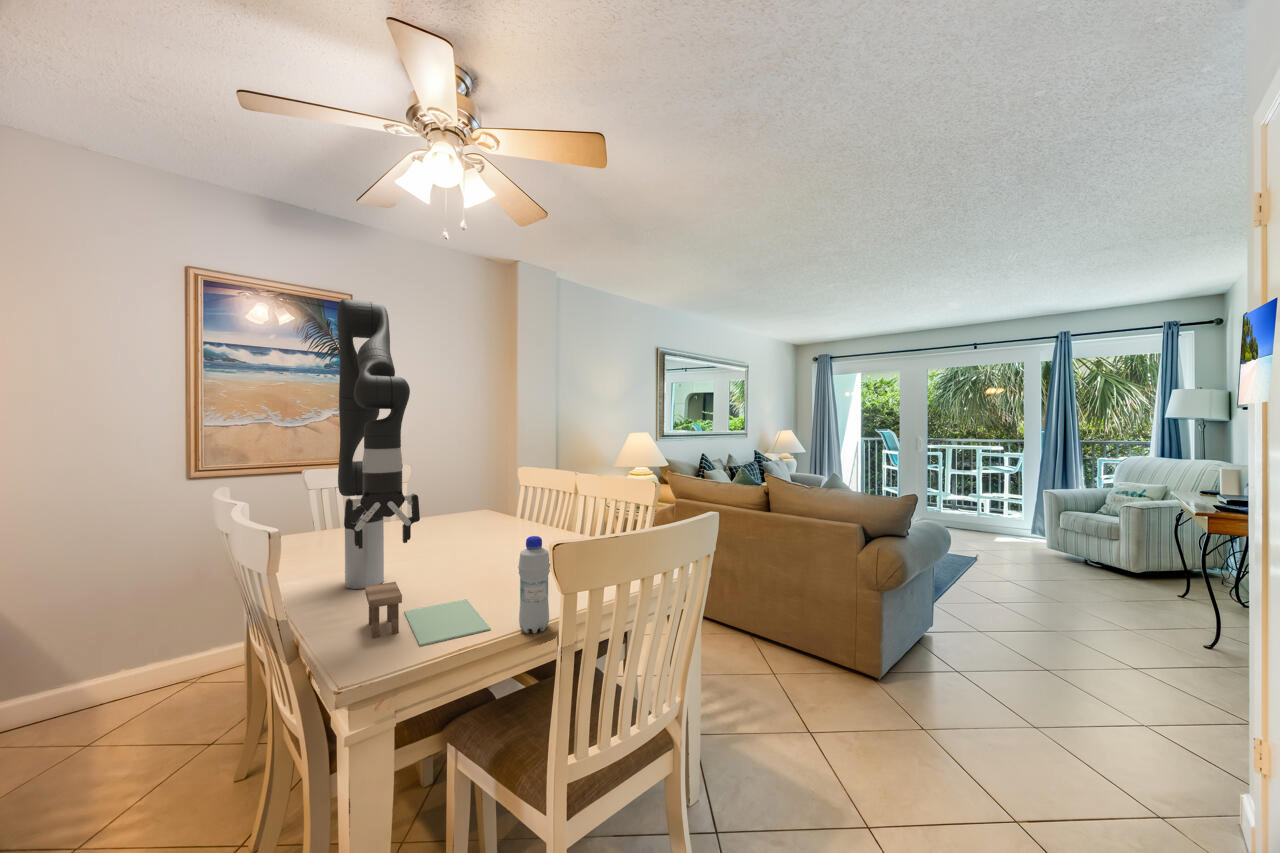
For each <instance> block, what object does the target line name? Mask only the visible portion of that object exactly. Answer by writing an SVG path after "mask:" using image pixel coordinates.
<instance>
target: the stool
mask: <svg viewBox="0 0 1280 853" xmlns="http://www.w3.org/2000/svg"><path fill="white" fill-rule="evenodd" d="M364 590H365V592H364V594H365V597H366V601H367V604H368V624H369V626H370V625H371V627H372V628H371V630H372V631H371V637H372V639H375V638H379V637H380V607H386V620H387V622H391V634H392V635H394V634H398V633H399V630H400V629H399V628H400V626H399V625H400V624H399V623H400V621H399V616H400V615H399V614H400V613H399V604H402V603H403V594H402V592H401V590H400V588H399V586H398V584H397V582H396V581H392V582H385V583H384V582H383V583H381V584H378V585H372V586H366V587H365V588H364Z"/></svg>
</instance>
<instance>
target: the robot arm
mask: <svg viewBox="0 0 1280 853" xmlns="http://www.w3.org/2000/svg"><path fill="white" fill-rule="evenodd" d="M336 314H337V315H336V319H337V334H338V336H337V337H338V338H337V339H338V350H339V354H338V355H339V382H338V383H339V387H338V388H339V390H338V391H339V392H338V412H339V416H338V417H339V453H338V456H339V457H338V470H337V471H338V472H337V473H338V474H337V487H338V492H339V494H340V495H341V496H343V497H348V498H347V499H346V500H344V502H345V503H344V515H343V516H344V520H343V526H344V587H345V588H347V589H352V590H358V589H365V587H366V586H372V585H378V584H383V583H384V581H385V575H384V574H385V571H384V568H385V558H384V557H385V552H384V551H385V549H384V548H385V547H384V546H385V545H384V541H385V538H384V536H385V535H384V534H385V533H384V531H385V529H384V528H385V527H384V518H385V517H386V518H391V517H392V516H395V515H396V517H398V518H399V520H400V521H401V522H402V523H403V524H402V543H403V544H407V543H408V541H410V540H411V536H412V535H411V528H412V524H414V523H417V522H418V523H419V521H420V520H421V516H420V504H419V503H420V500H419V499H420V498H419V496H418V495H417V494H416V493H412V494H409V495H404V493H403V466H404V465H403V455H402V448H401V447H402V444H401V443H402V424H403V419H404V415H405V412H406V408H407V407H408V406H407V405H408V403H409V399H410V397H411V396H410V393H411V389H410V386H409V383H408V381H407V380H406V379H405V378H403V377H401V376H396V369H395V365H394V362H393V359H392V358H393V357H392V354H391V337H390V336H391V335H390V333H391V332H390V320H389V313H388V311H387V308H386V307H385V306H384V304H382V303H379V302H376V301H367V300H360V299H359V300H358V299H350V298H349V299H348V298H347V299H346V298H344V299H343V298H342V299H341V300H339V302H338V304H337V313H336ZM354 338H359V339H360V338H361V339H367V340H366V341H365V342H364V343H363V344H362V345H361V346H360V348H359V349H358V351H357V349H356V348H355V344H354ZM380 410H390V412H389V414H388V415H387V416H386V417H383V418H381V419H378V418H379V416H380ZM362 440H363V454H362V455H363V456H362V460H359V461H357V460H356V461H354V460H353V459H354V456H355V453H356V451H357V448H358V447H359V445H360V443H361V442H362ZM356 496H357V497H358V496H361V498H359V499H358V498H355V499H354V498H353V499H352V498H349V497H356ZM405 502H407V504H408V505H410V507H411V516H410V517H407V515H405V514H404V513H403V511H402V510H401V509H400V508H401V507H402V506H403V504H404V503H405Z"/></svg>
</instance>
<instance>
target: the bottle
mask: <svg viewBox="0 0 1280 853" xmlns="http://www.w3.org/2000/svg"><path fill="white" fill-rule="evenodd" d="M525 540H526V541H525V549H523V550H521V551H520V553H519V558H518V559H519V561H518V566H517V568H518V574H519V577H520V578H519V612H518V623H519V627H520V630H522V631H523V632H524V633H526V634H529V633H530V630H531V631H532V633H533V634H537V633H538V630H539V631H540V633H542V632H544V631H545V630H546V628H547V627H548V625H549V622H550V607H549V574H550V572H551V571H550V570H551V569H550V568H551V562H550V563H549V561H550V554H549V550H548V549H546V548H544V547H543V539H542V537H540V536H538V535H532V536H528V537H527V538H526V539H525Z"/></svg>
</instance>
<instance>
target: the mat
mask: <svg viewBox="0 0 1280 853" xmlns="http://www.w3.org/2000/svg"><path fill="white" fill-rule="evenodd" d="M403 612H404V615H405V617H407V618H406V619H407V621H408V623H409V626H410V628H411V631H412V633H413V634H414V637H415V639H416V642H417V643H418V646H419V647H423V646H427V645H431V644H436V643H441V642H444V641H445V642H446V641H449V640H454V639H457V638H462V637H466V636H470V635H474V634H479V633H484V631H485V632H488V631H491V627H490V626H489V624H488V623H487V622H486V621H485V619H484V618H483V617H482V616H481V615H480V614H479V612H478V611H477V610H476V609H475V607H474V606H473V605H472V604H471V603H470V602H469V600H468V599H461V600H455V601H451V602H445V603H440V604H435V605H434V604H433V605H428V606H423V607H419V608H413V609H408V610H404V611H403Z"/></svg>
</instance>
